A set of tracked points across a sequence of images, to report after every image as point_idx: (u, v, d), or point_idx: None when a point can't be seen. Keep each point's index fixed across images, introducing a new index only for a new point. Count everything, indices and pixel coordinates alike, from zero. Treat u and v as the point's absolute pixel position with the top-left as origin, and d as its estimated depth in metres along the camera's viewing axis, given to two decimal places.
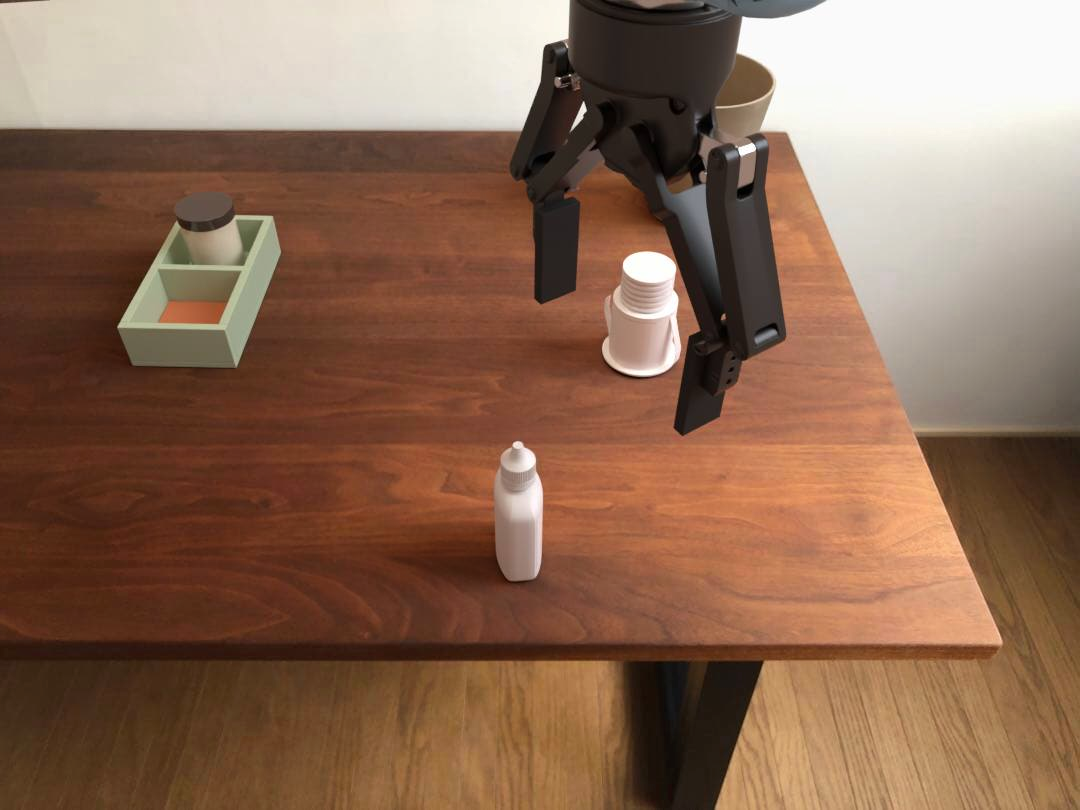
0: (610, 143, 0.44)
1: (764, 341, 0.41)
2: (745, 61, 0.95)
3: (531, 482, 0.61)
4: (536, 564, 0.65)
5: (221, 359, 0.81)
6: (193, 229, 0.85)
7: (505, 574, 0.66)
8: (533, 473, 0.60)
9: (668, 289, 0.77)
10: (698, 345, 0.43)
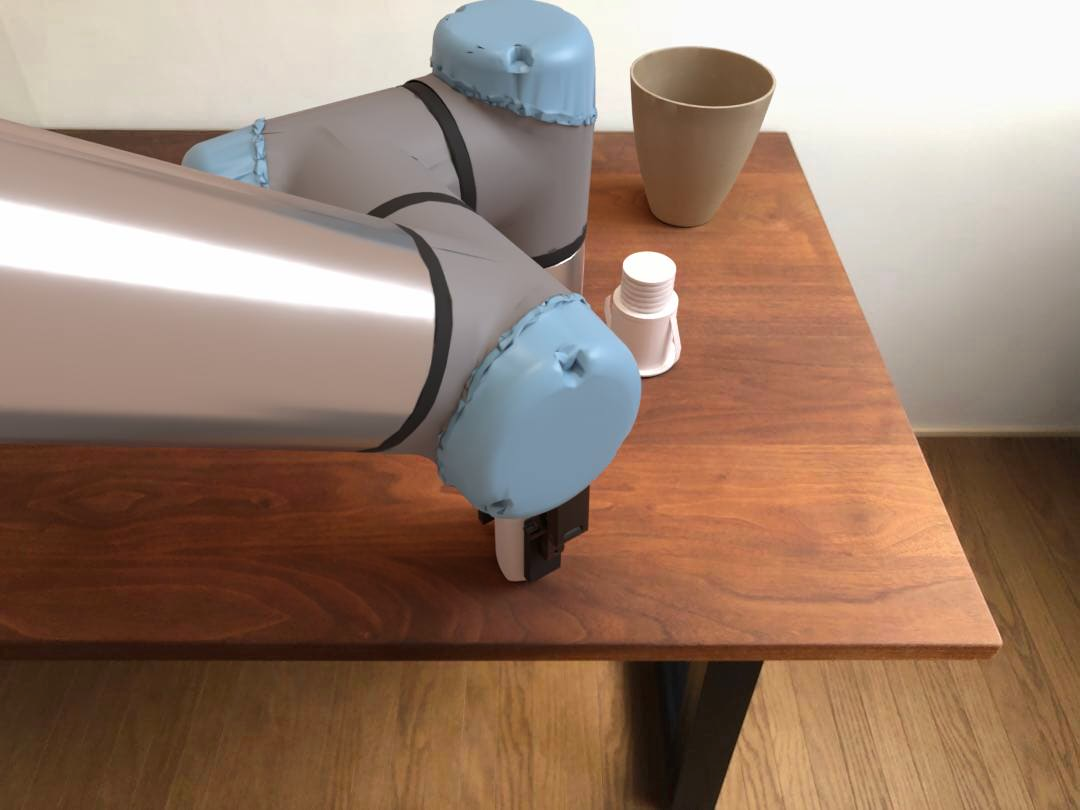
0: None
1: (570, 533, 0.57)
2: (745, 61, 0.95)
3: None
4: None
5: None
6: None
7: (505, 574, 0.66)
8: None
9: (668, 289, 0.77)
10: (526, 531, 0.59)
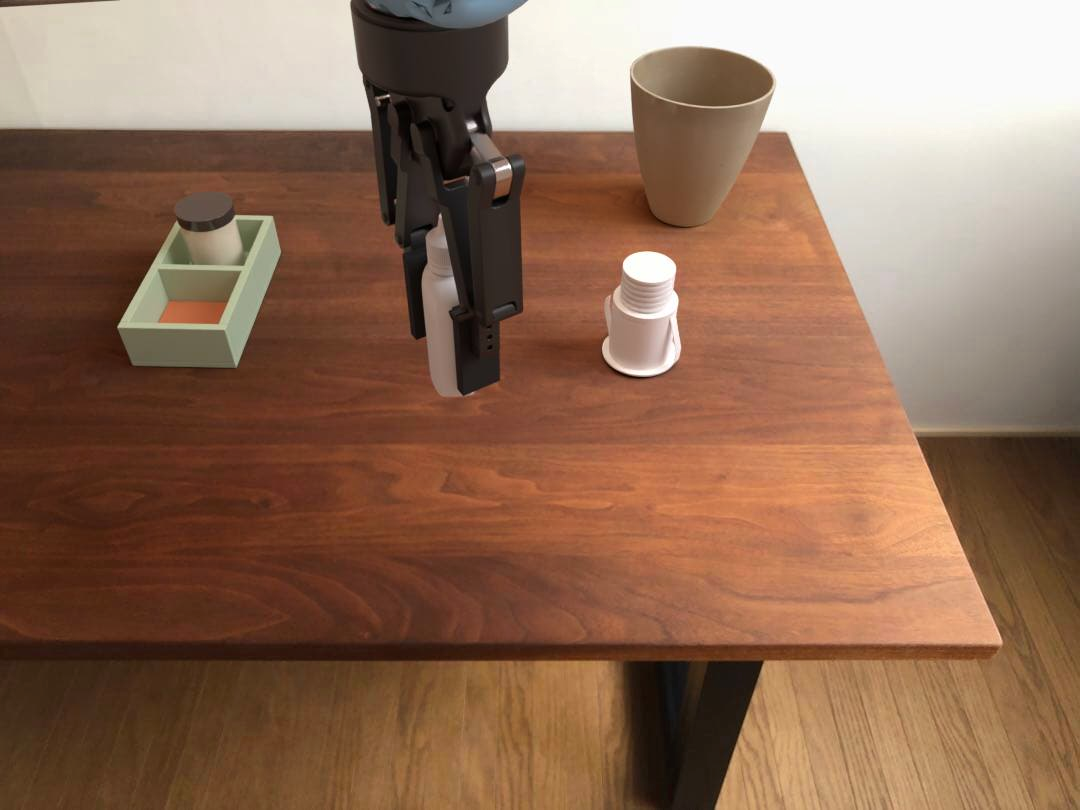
0: (412, 138, 0.48)
1: (501, 311, 0.49)
2: (745, 61, 0.95)
3: None
4: None
5: (221, 359, 0.81)
6: (193, 229, 0.85)
7: (437, 388, 0.57)
8: None
9: (668, 289, 0.77)
10: (452, 314, 0.50)
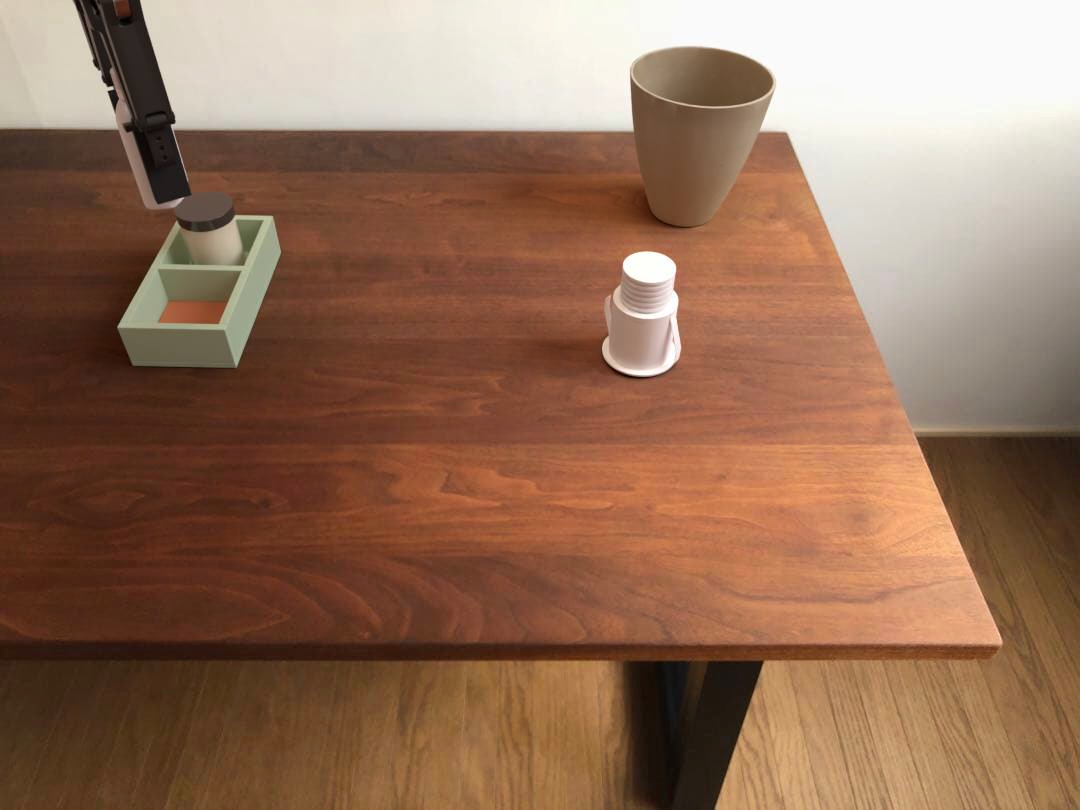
0: None
1: (153, 118, 0.63)
2: (745, 61, 0.95)
3: None
4: None
5: (221, 359, 0.81)
6: (193, 229, 0.85)
7: None
8: None
9: (668, 289, 0.77)
10: (123, 125, 0.65)
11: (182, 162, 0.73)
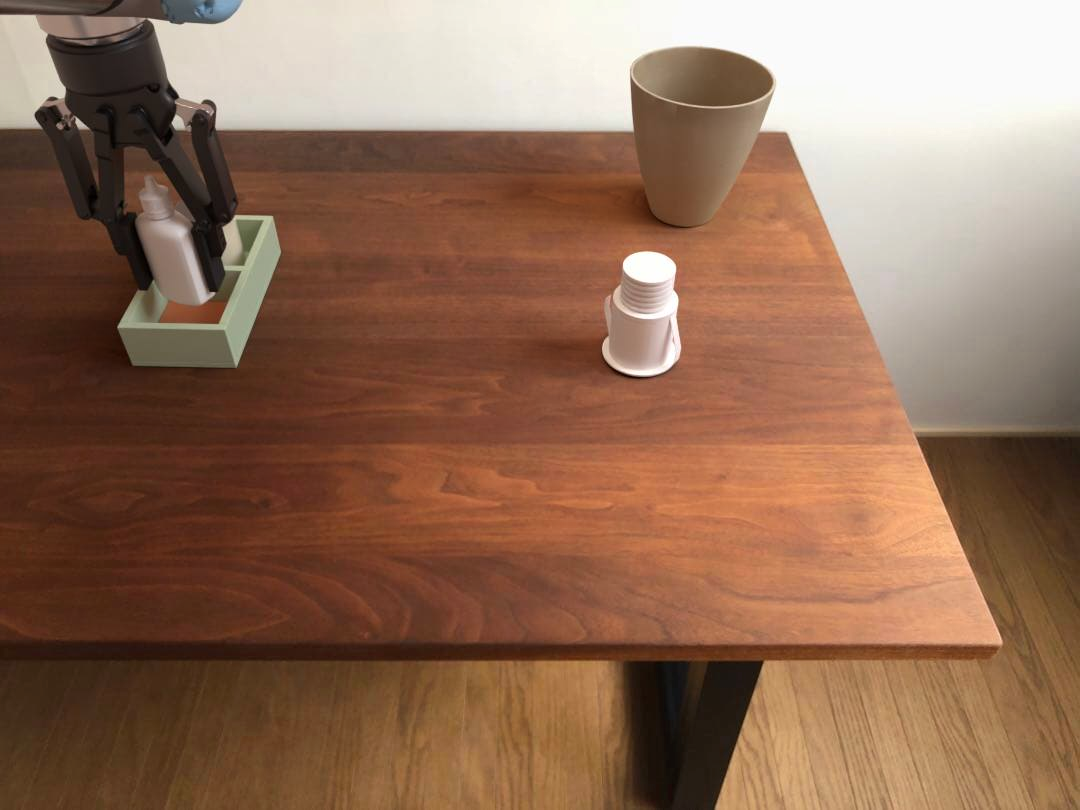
0: (113, 132, 0.70)
1: (232, 207, 0.76)
2: (745, 61, 0.95)
3: (173, 206, 0.76)
4: None
5: (221, 359, 0.81)
6: None
7: (194, 301, 0.80)
8: (170, 197, 0.76)
9: (668, 289, 0.77)
10: (201, 229, 0.75)
11: None
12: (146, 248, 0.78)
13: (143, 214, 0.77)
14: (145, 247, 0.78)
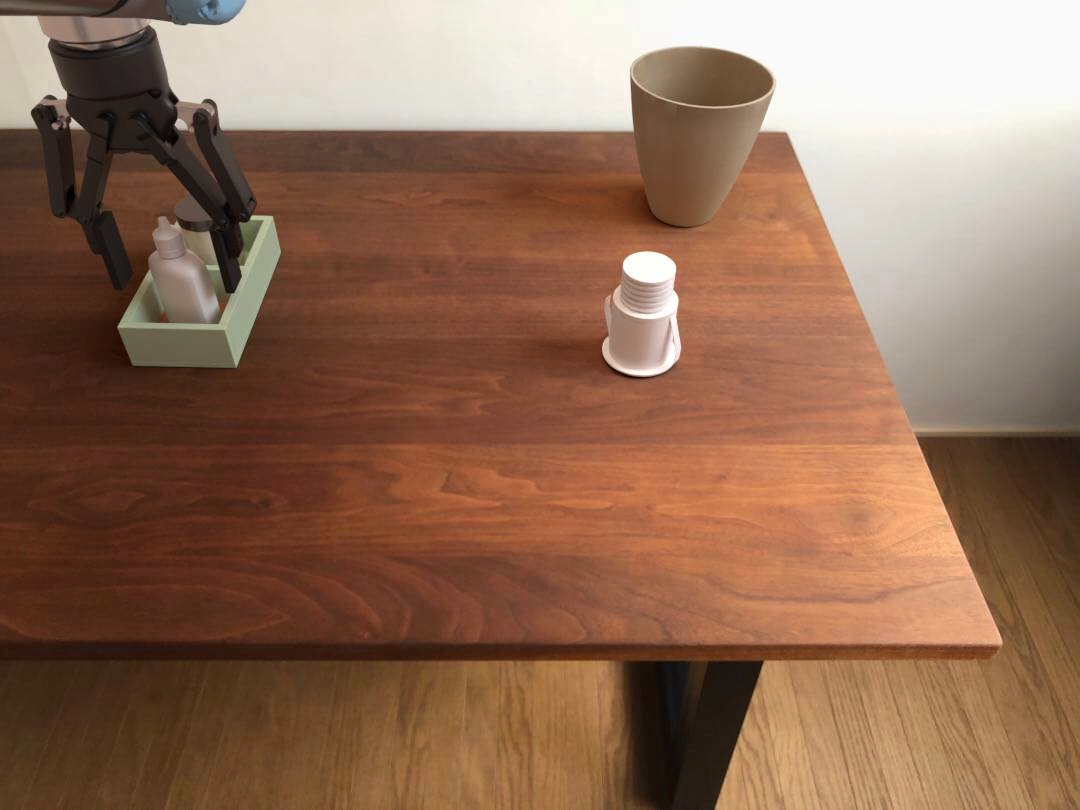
0: (114, 137, 0.70)
1: (250, 207, 0.75)
2: (745, 61, 0.95)
3: (185, 245, 0.79)
4: None
5: (221, 359, 0.81)
6: (193, 229, 0.85)
7: None
8: None
9: (668, 289, 0.77)
10: (219, 228, 0.74)
11: None
12: (159, 285, 0.81)
13: (156, 252, 0.80)
14: (158, 284, 0.81)
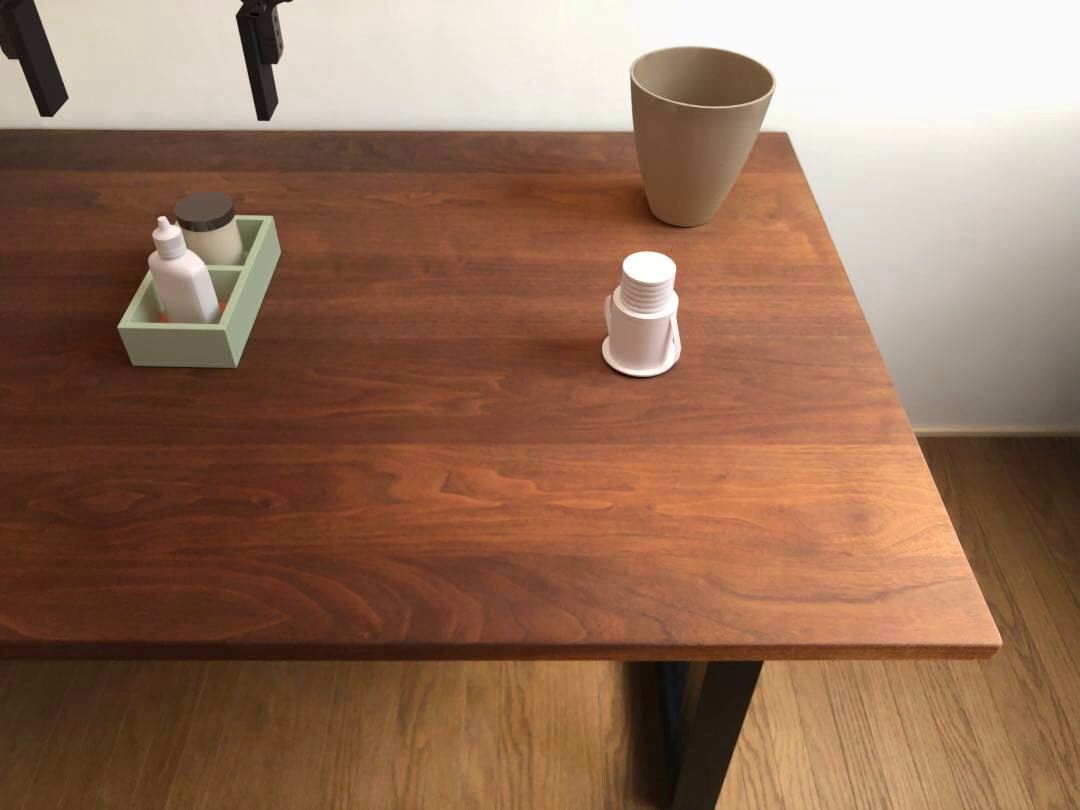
0: None
1: None
2: (745, 61, 0.95)
3: (185, 245, 0.79)
4: None
5: (221, 359, 0.81)
6: (193, 229, 0.85)
7: None
8: None
9: (668, 289, 0.77)
10: (252, 9, 0.51)
11: None
12: (159, 285, 0.81)
13: (156, 252, 0.80)
14: (158, 284, 0.81)
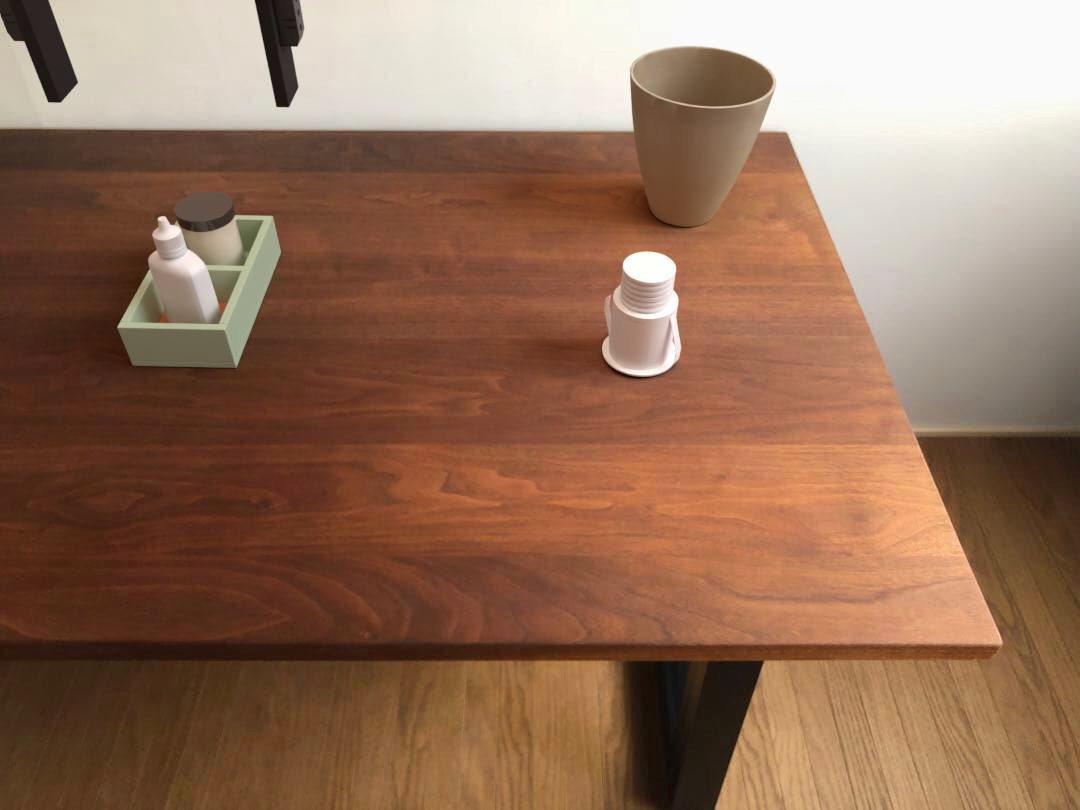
0: None
1: None
2: (745, 61, 0.95)
3: (185, 245, 0.79)
4: None
5: (221, 359, 0.81)
6: (193, 229, 0.85)
7: None
8: None
9: (668, 289, 0.77)
10: None
11: None
12: (159, 285, 0.81)
13: (156, 252, 0.80)
14: (158, 284, 0.81)
